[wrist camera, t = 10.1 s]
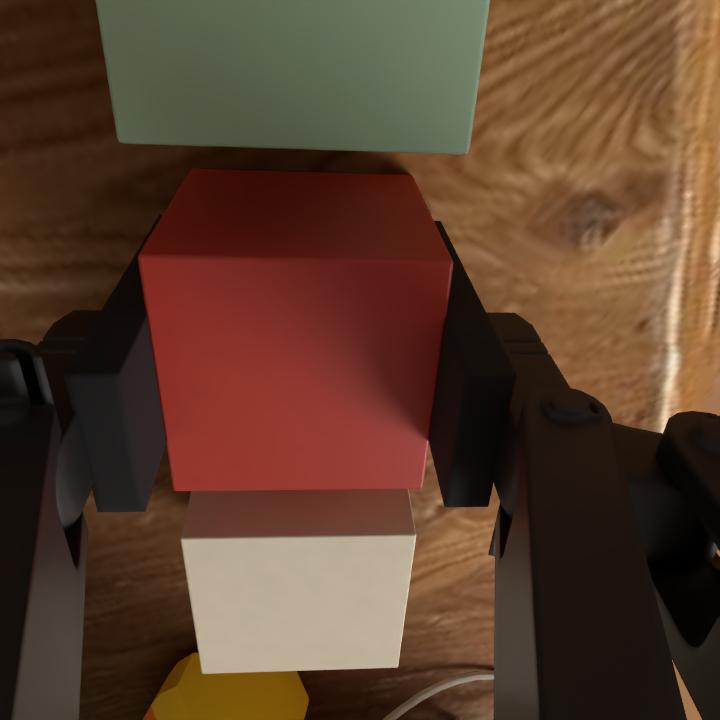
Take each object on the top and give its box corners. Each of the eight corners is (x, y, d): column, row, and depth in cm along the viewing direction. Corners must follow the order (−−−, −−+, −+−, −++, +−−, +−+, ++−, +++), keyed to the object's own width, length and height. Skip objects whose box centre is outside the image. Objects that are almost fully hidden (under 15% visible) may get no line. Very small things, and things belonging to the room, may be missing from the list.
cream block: (212, 396, 17) (179, 538, 13) (392, 397, 18) (416, 535, 13) (225, 523, 20) (201, 674, 16) (380, 521, 20) (397, 667, 16)
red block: (189, 167, 14) (135, 255, 10) (412, 173, 14) (455, 260, 10) (208, 358, 16) (172, 492, 12) (396, 359, 17) (423, 490, 13)
